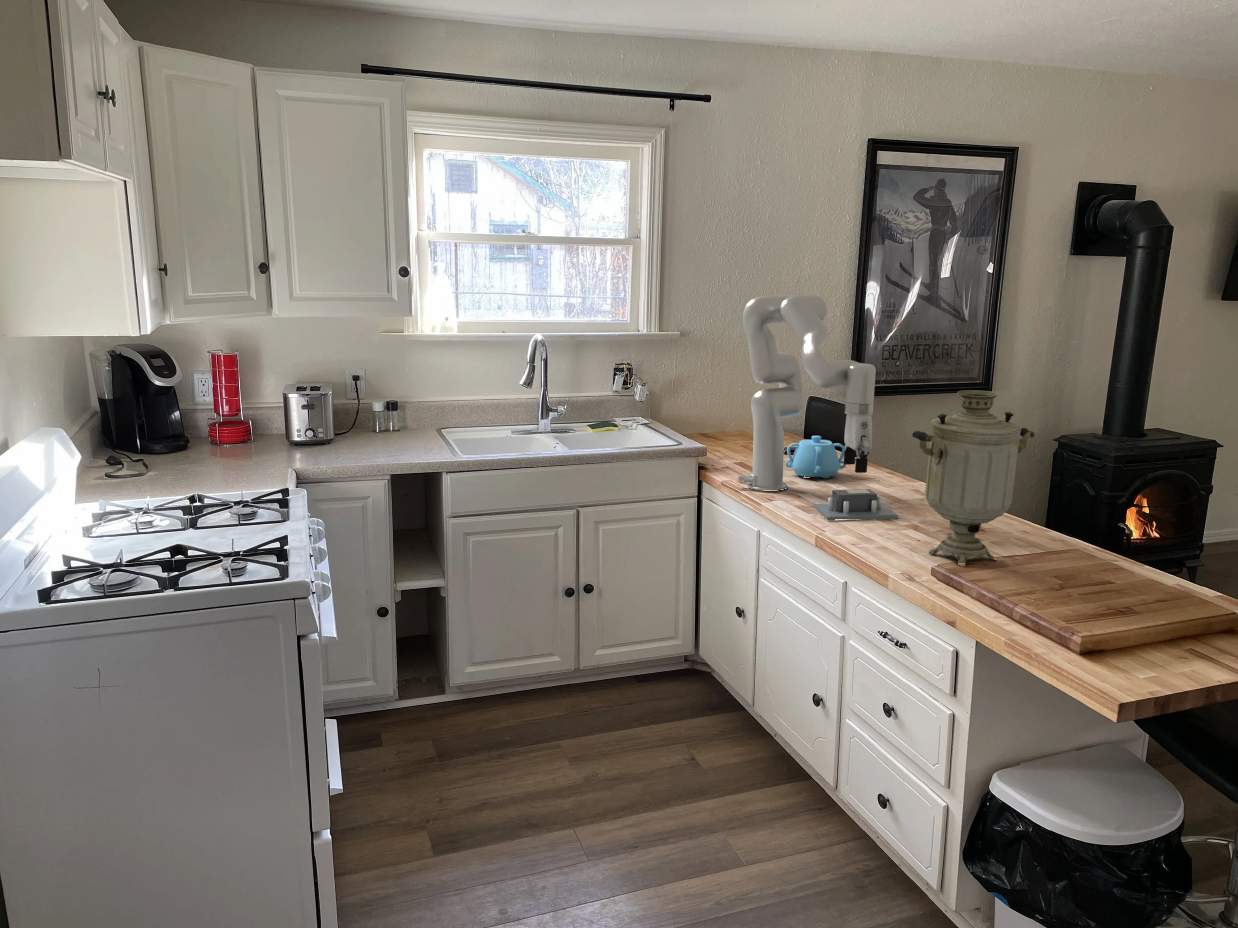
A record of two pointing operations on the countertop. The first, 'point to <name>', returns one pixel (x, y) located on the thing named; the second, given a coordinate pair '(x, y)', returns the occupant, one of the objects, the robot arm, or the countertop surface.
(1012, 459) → the samovar
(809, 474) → the decorative pot
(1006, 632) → the countertop surface
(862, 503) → the drive
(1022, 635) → the countertop surface
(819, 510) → the peg board
